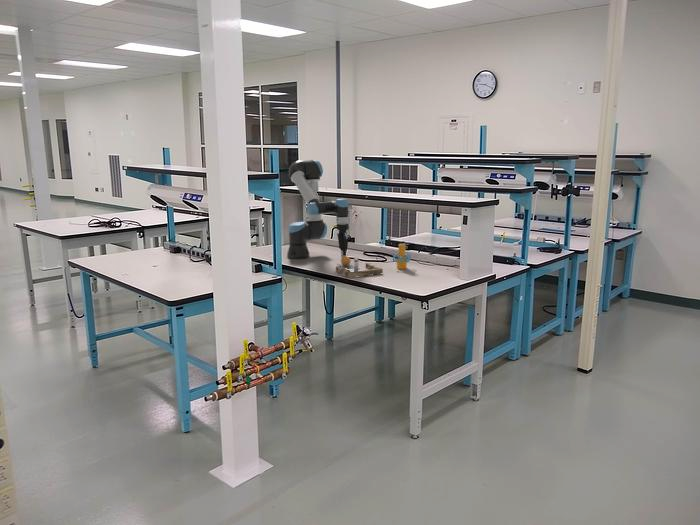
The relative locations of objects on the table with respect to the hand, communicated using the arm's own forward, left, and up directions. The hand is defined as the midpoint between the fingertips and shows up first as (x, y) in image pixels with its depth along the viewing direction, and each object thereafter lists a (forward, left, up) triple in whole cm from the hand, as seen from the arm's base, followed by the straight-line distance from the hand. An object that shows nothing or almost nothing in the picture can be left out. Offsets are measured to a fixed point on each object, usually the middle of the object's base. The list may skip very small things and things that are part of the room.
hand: (343, 260), depth 335 cm
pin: (+20, 0, -3) cm, 20 cm away
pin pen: (+23, 0, -3) cm, 23 cm away
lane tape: (+13, 0, -3) cm, 13 cm away
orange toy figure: (+26, +28, -3) cm, 38 cm away
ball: (+4, 0, 0) cm, 4 cm away
